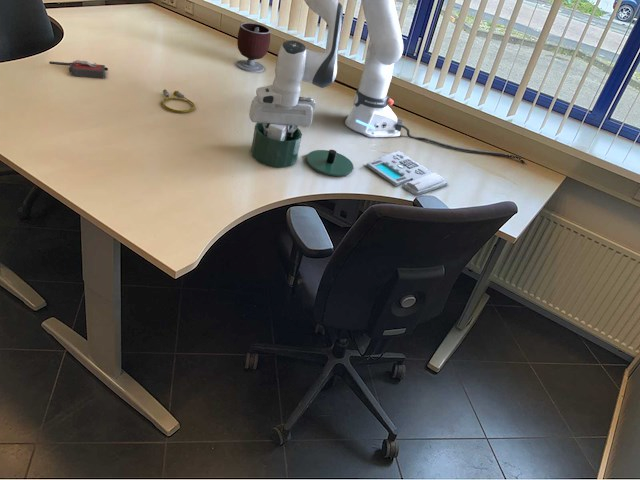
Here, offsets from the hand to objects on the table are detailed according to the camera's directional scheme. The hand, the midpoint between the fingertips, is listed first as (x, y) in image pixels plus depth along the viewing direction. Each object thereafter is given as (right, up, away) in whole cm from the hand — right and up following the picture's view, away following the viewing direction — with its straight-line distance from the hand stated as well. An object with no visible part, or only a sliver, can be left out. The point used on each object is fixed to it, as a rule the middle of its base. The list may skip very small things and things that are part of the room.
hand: (277, 135), depth 179 cm
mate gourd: (-17, +42, +64) cm, 78 cm away
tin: (-2, -6, +4) cm, 8 cm away
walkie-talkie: (-75, +28, +23) cm, 83 cm away
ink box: (-2, -6, +4) cm, 7 cm away
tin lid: (+17, -8, +7) cm, 20 cm away
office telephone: (+44, -11, +14) cm, 47 cm away
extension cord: (-38, +15, +20) cm, 45 cm away
